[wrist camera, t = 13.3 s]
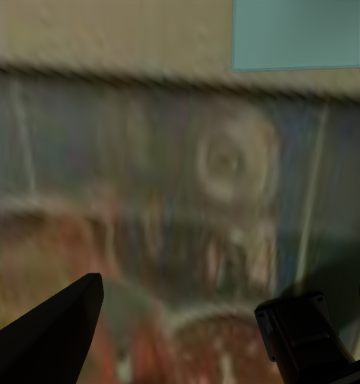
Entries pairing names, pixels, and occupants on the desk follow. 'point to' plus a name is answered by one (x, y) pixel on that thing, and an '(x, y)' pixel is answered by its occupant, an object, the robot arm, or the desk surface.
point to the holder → (295, 35)
